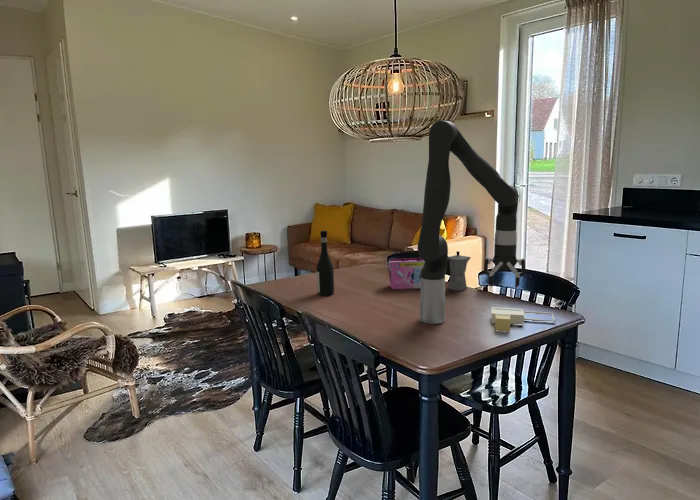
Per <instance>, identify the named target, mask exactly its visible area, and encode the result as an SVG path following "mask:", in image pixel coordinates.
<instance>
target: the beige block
mask: <svg viewBox="0 0 700 500" xmlns="http://www.w3.org/2000/svg"><path fill="white" fill-rule="evenodd" d="M494 329H495V330H498V331H510V332H511V327H510V314H497V313H496V321H495V327H494ZM495 330H494V331H495Z"/></svg>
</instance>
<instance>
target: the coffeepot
mask: <svg viewBox="0 0 700 500" xmlns="http://www.w3.org/2000/svg"><path fill="white" fill-rule="evenodd" d="M460 253H461V252H460V251H458V250H457V251H456V254H455V255H449V256H448V260H447V262H448V263H449V272H450V274H449V272H448V271H446V272H445V275H449V280H448V284H447V285H448V286H447V288H448V290H450V291H465V290H468V289H467V288H468V287H467V279H466V270H467V266H468V265H467V264H468V263H469V261H470V259H471V258H472V257H470V256H466V255H460Z"/></svg>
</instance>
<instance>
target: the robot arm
mask: <svg viewBox="0 0 700 500" xmlns="http://www.w3.org/2000/svg"><path fill="white" fill-rule="evenodd" d="M450 153H452V154H453V155H454V156H455V157H456V158H457V159H458V160H459V161H460V162H461V164H462V165H463V166H464V167H465V169H466V170H467V172H468V173H469V174H470V176H472V177H473V179H474V180H476V182H478V183H479V185H481V186H482V188H484V189H485V190H486V191H487V193H488V194H489V195H490V197H491V198H492V199H493V201H495V203H497V215H496V217H495V232H494V240H493V243H494V244H493V258H490V257H488V256H486V257H485V259H484V267H483V275H486V276H487V277H488V285H489V286H490V287H494V286H493V283H494V282H493V281H494V280H493V279H494V277H493V276H494V274H495V273H497V271H498V270H499V271H502V272H503V271H506V272H509V271H511V272H512V273H513V274H514V275H515V278H514V279H515V281H514V282H515V283H514V287H515V288H516V289H517V288H518V287H520V279H521V277H526V259H525V258H517V238H518V237H517V223H518V222H517V214H518V206H519V205H518V204H519V191H518V189H517V188H516V187H515V186H513V185H510V184H509V183H507V182H506V181H505V180H504V179H503V178H502V177H501V174H499V172H498V171H497V170H496V169H495V168H494V167H493V166H492V165H491V164H490V163H489V162H488V161H487V160H486V159H485V158H484V157H482V155H480V154H479V152H477V150H475V149H474V148H473V147H472V145H470V143H469V142H468V141H467V140H466V138H465V137H464V136H463V134H462V132H460V130H459V129H458V128H457V125H456V124H455V123H454V122H452V121H449V120H443V119H441V120H437V121H436V122H434V123H433V124H432V125H431V126H430V128H429V131H428V161H427V162H428V163H427V170H426V179H425V185H424V195H423V210H422V218H421V227H420V231H419V238H418V242H417V253H418V257H419V258H421V259H422V260H424V261H425V264H424V266H423V268H422V270H421V288H420V297H419V323H425V324H429V325H434V324H435V325H438V324H442V323H444V322H445V316H446V314H445V312H446V311H445V310H446V306H445V305H446V304H445V303H446V302H445V301H446V297H445V296H446V274H445V272H447V269H448V261H447V260H448V257H449V255H448V254H449V247H448V243H447V240H446V239H445V237H443V236H442V235H440V232H441V226H442V221H443V219H444V216H445V214H446V213H447V210H448V207H449V203H450V197H451V187H452V181H451V180H452V179H451V173H450V172H451V171H450V165H449V164H450ZM491 263H493V264H494V266H493V267H492V269H491V270H490V271H489V270H488V266H489V265H491ZM517 264H519V266H521V267H520V268H521V272H519V271H518V270H517V268H516V267H515V266H516V265H517Z"/></svg>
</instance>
